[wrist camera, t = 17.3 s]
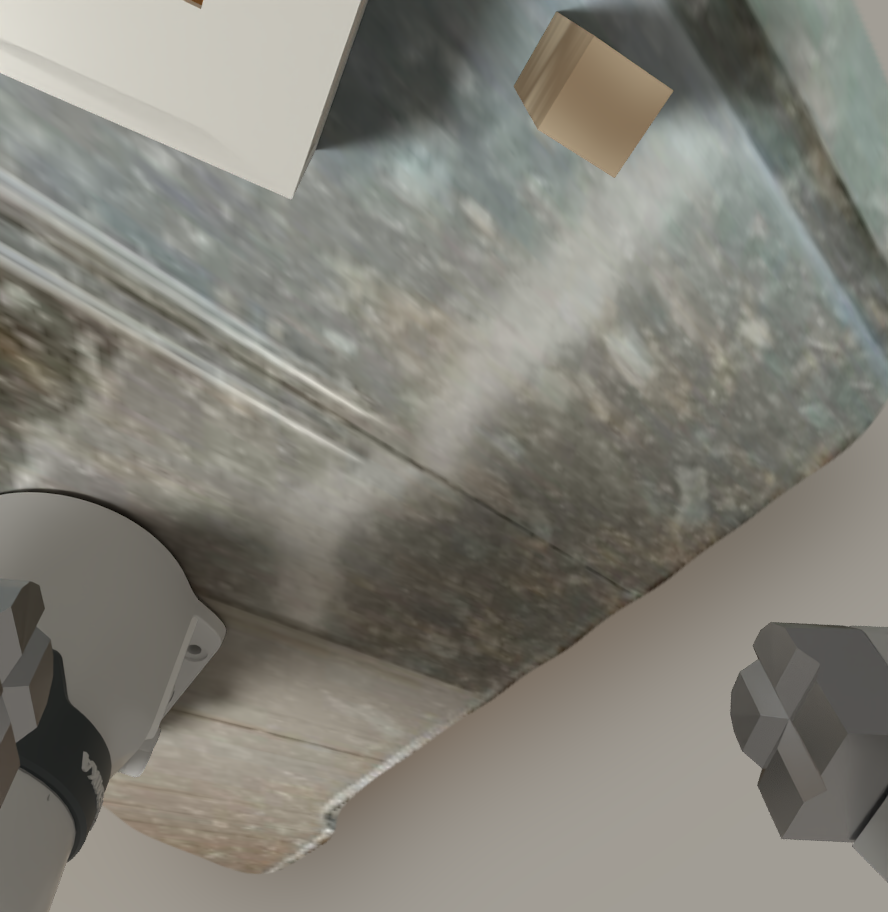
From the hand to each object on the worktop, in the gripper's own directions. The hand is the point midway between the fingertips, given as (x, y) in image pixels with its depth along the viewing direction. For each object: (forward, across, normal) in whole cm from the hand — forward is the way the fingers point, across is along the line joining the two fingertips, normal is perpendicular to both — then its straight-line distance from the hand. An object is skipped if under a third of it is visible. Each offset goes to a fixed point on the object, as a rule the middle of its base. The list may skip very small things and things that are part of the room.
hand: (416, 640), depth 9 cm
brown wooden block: (+28, -6, -3) cm, 28 cm away
